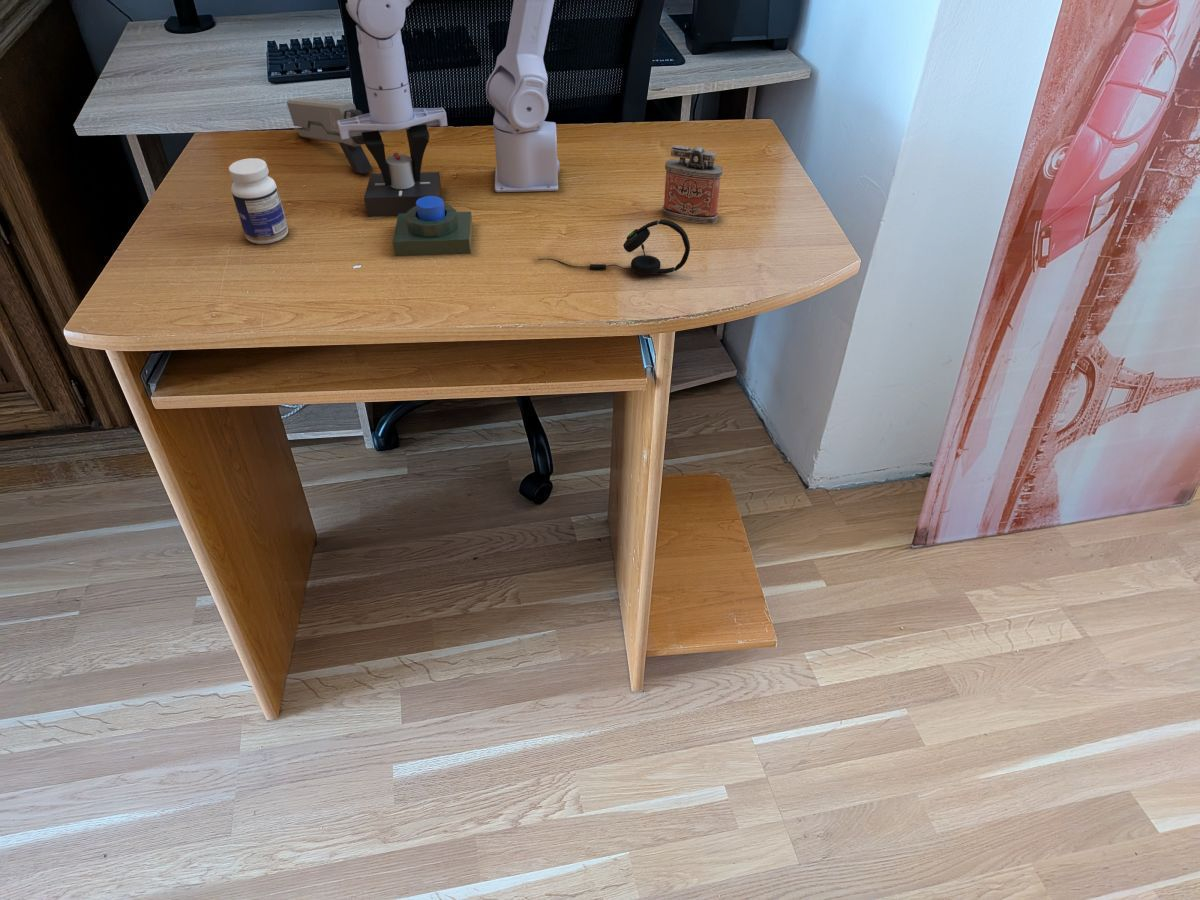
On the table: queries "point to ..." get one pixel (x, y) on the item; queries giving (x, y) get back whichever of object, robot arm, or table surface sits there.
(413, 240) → the switch box
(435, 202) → the power button
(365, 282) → the table surface
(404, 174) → the dimmer knob
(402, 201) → the dimmer console
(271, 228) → the pill bottle
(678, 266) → the headset
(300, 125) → the gun
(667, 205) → the lighter
